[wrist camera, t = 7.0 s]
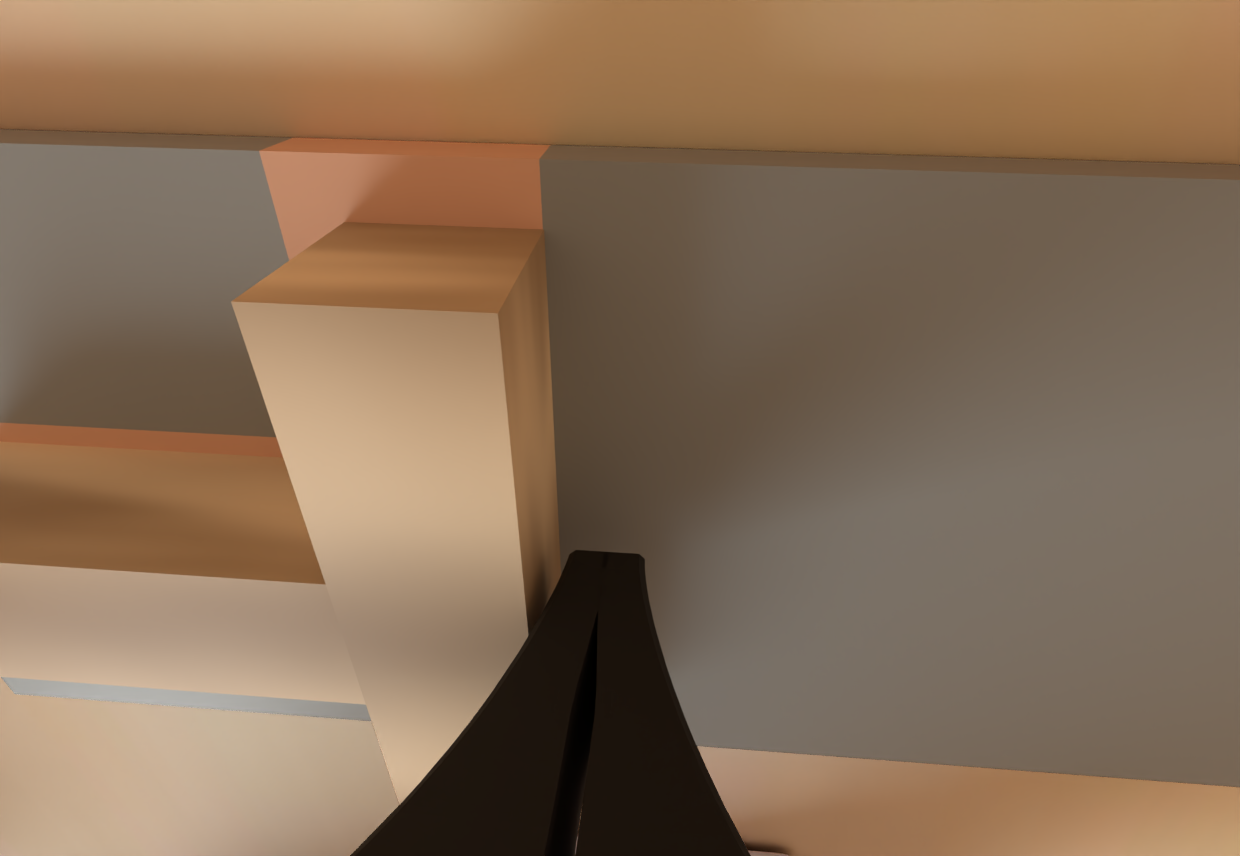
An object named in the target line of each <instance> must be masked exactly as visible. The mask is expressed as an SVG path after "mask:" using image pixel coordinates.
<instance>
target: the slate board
mask: <svg viewBox="0 0 1240 856" xmlns="http://www.w3.org/2000/svg"><path fill="white" fill-rule="evenodd" d="M344 222H357V223H384V224H410V225H437V226H464V227H490V228H517V229H543V230H544V237H545V257H546V278H547V298H548V318H549V339H550V359H551V380H552V400H553V421H554V441H555V462H556V482H557V502H558V523H559V543H560V564H561V574H562V572H563V570H564V567H565V565H566V562H567V559H568V557H569V554H570V553H572V552H573V551H575V550H587V551H603V552H619V553H635V554H640V555H641V556H642V557H643V558H644V559H645V575H646V584H647V591H648V597H649V602H650V607H651V611H652V616H653V620H654V624H655V628H656V632H657V636H658V639H659V642H660V646H661V649H662V652H663V656H664V659H665V663H666V666H667V669H668V672H669V675H670V678H671V681H672V684H673V687H674V689H675V692H676V695H677V698H678V700H679V703H680V706H681V708H682V711H683V714H684V716H685V719H686V721H687V724H688V726H689V729H690V731H691V734H692V736H693V739H694V741H695V743H696V746H704V747H718V748H731V749H744V750H757V751H770V752H783V753H797V754H810V755H823V756H836V757H849V758H862V759H875V760H889V761H902V762H915V763H928V764H941V765H954V766H968V767H981V768H994V769H1007V770H1020V771H1033V772H1047V773H1060V774H1073V775H1086V776H1099V777H1112V778H1125V779H1139V780H1152V781H1165V782H1178V783H1191V784H1204V785H1218V786H1231V787H1240V165H1236V164H1201V163H1166V162H1131V161H1096V160H1061V159H1026V158H991V157H956V156H921V155H886V154H851V153H816V152H781V151H746V150H711V149H676V148H641V147H607V146H572V145H537V144H502V143H467V142H432V141H397V140H362V139H327V138H292V137H257V136H222V135H187V134H152V133H117V132H82V131H47V130H12V129H0V441H1V442H18V443H36V444H53V445H71V446H89V447H106V448H124V449H142V450H159V451H177V452H195V453H212V454H230V455H248V456H265V457H283V455H282V452H281V449H280V446H279V443H278V440H277V437H276V435H275V432H274V429H273V426H272V423H271V420H270V417H269V414H268V411H267V408H266V405H265V402H264V399H263V396H262V393H261V390H260V387H259V384H258V381H257V378H256V375H255V372H254V369H253V366H252V363H251V360H250V357H249V354H248V351H247V348H246V345H245V342H244V339H243V336H242V333H241V330H240V327H239V324H238V321H237V318H236V315H235V312H234V309H233V306H232V303H231V301H232V300H234V299H235V298H237V297H238V296H240V295H241V294H242V293H244V292H245V291H247V290H248V289H250V288H251V287H252V286H254V285H255V284H257V283H258V282H260V281H261V280H262V279H264V278H265V277H267V276H268V275H270V274H271V273H272V272H274V271H275V270H277V269H278V268H280V267H281V266H282V265H284V264H285V263H287V262H288V261H289V260H291V259H292V258H294V257H295V256H297V255H298V254H299V253H301V252H302V251H304V250H305V249H307V248H308V247H309V246H311V245H312V244H314V243H315V242H317V241H318V240H319V239H321V238H322V237H324V236H325V235H327V234H328V233H329V232H331V231H332V230H334V229H335V228H337V227H338V226H339V225H341V224H342V223H344ZM1 678H2V679H3V680H4V682H5V683H6V684H7V685H8V686H9V688H10V689H11V690H12V691H13V693H14V694H20V695H33V696H47V697H60V698H73V699H86V700H99V701H112V702H126V703H139V704H152V705H165V706H178V707H191V708H205V709H218V710H231V711H244V712H257V713H270V714H283V715H297V716H310V717H323V718H336V719H349V720H362V721H371V718H370V715H369V712H368V709H367V706H366V705H364V704H351V703H338V702H325V701H311V700H298V699H285V698H272V697H259V696H246V695H232V694H219V693H206V692H193V691H180V690H167V689H153V688H140V687H127V686H114V685H101V684H88V683H75V682H61V681H48V680H35V679H22V678H9V677H1Z"/></svg>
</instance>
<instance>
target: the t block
mask: <svg viewBox="0 0 1240 856" xmlns="http://www.w3.org/2000/svg"><path fill="white" fill-rule="evenodd" d="M231 303H232V306H233V309H234V312H235V315H236V318H237V321H238V324H239V327H240V330H241V333H242V336H243V339H244V342H245V345H246V348H247V351H248V354H249V357H250V360H251V363H252V366H253V369H254V372H255V375H256V378H257V381H258V384H259V387H260V390H261V393H262V396H263V399H264V402H265V405H266V408H267V411H268V414H269V417H270V420H271V423H272V426H273V429H274V432H275V435H276V437H277V440H278V443H279V446H280V449H281V452H282V455H283V457H265V456H248V455H230V454H212V453H195V452H177V451H159V450H142V449H124V448H106V447H89V446H71V445H53V444H36V443H18V442H1V441H0V677H9V678H22V679H35V680H48V681H61V682H75V683H88V684H101V685H114V686H127V687H140V688H153V689H167V690H180V691H193V692H206V693H219V694H232V695H246V696H259V697H272V698H285V699H298V700H311V701H325V702H338V703H351V704H364V705H366V706H367V709H368V712H369V715H370V718H371V721H372V724H373V727H374V730H375V733H376V736H377V739H378V742H379V745H380V748H381V751H382V754H383V757H384V760H385V763H386V766H387V769H388V772H389V775H390V778H391V781H392V784H393V787H394V790H395V793H396V796H397V799H398V802H399V805H400V804H401V803H402V802H403V801H404V800H405V798H406V797H407V796H408V795H409V794H410V793H411V792H412V791H413V790H414V788H415V787H416V786H417V785H418V784H419V783H420V782H421V781H422V779H423V778H424V777H425V776H426V775H427V773H428V772H429V771H430V770H431V769H432V768H433V766H434V765H435V764H436V763H437V762H438V761H439V759H440V758H441V757H442V756H443V755H444V753H445V752H446V751H447V750H448V749H449V748H450V746H451V745H452V744H453V743H454V741H455V740H456V739H457V738H458V736H459V735H460V734H461V732H462V731H463V730H464V729H465V727H466V726H467V725H468V724H469V722H470V721H471V720H472V718H473V717H474V716H475V714H476V713H477V712H478V710H479V709H480V708H481V706H482V705H483V703H484V702H485V701H486V699H487V698H488V697H489V695H490V694H491V692H492V691H493V690H494V688H495V687H496V685H497V684H498V682H499V681H500V679H501V678H502V676H503V675H504V673H505V672H506V670H507V669H508V667H509V666H510V664H511V663H512V661H513V660H514V658H515V657H516V655H517V654H518V652H519V651H520V649H521V647H522V646H523V644H524V642H525V641H526V639H527V637H528V636H529V634H530V632H531V631H532V629H533V627H534V625H535V624H536V622H537V620H538V619H539V617H540V615H541V614H542V612H543V610H544V608H545V606H546V604H547V602H548V600H549V599H550V597H551V595H552V593H553V591H554V589H555V587H556V585H557V583H558V581H559V579H560V576H561V564H560V543H559V523H558V502H557V482H556V462H555V441H554V421H553V400H552V380H551V359H550V339H549V318H548V298H547V278H546V257H545V237H544V230H543V229H517V228H490V227H464V226H437V225H410V224H384V223H357V222H344V223H342V224H341V225H339V226H338V227H337V228H335V229H334V230H332V231H331V232H329V233H328V234H327V235H325V236H324V237H322V238H321V239H319V240H318V241H317V242H315V243H314V244H312V245H311V246H309V247H308V248H307V249H305V250H304V251H302V252H301V253H299V254H298V255H297V256H295V257H294V258H292V259H291V260H289V261H288V262H287V263H285V264H284V265H282V266H281V267H280V268H278V269H277V270H275V271H274V272H272V273H271V274H270V275H268V276H267V277H265V278H264V279H262V280H261V281H260V282H258V283H257V284H255V285H254V286H252V287H251V288H250V289H248V290H247V291H245V292H244V293H242V294H241V295H240V296H238V297H237V298H235V299H234V300H232V301H231Z"/></svg>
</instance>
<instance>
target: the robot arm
mask: <svg viewBox="0 0 1240 856" xmlns="http://www.w3.org/2000/svg"><path fill="white" fill-rule="evenodd" d="M581 809H582V811H581ZM580 815H581V818H580ZM579 822H580V826H579ZM578 828H579V833H578ZM577 835H578V836H577ZM350 856H789V855H786V854H782V853H773V852H761V851H749V850H747V848H746V846H745V844H744V842H743V840H742V838H741V836H740V835H739V833H738V831H737V829H736V827H735V825H734V823H733V821H732V819H731V818H730V816H729V814H728V812H727V810H726V808H725V806H724V804H723V802H722V800H721V798H720V796H719V794H718V792H717V789H716V787H715V785H714V783H713V781H712V779H711V777H710V775H709V773H708V770H707V768H706V766H705V764H704V761H703V759H702V757H701V755H700V752H699V750H698V748H697V746H696V743H695V741H694V739H693V736H692V734H691V731H690V729H689V726H688V724H687V721H686V719H685V716H684V714H683V711H682V708H681V706H680V703H679V700H678V698H677V695H676V692H675V689H674V687H673V684H672V681H671V678H670V675H669V672H668V669H667V666H666V663H665V659H664V656H663V652H662V649H661V646H660V642H659V639H658V636H657V632H656V628H655V624H654V620H653V616H652V611H651V607H650V602H649V597H648V591H647V584H646V575H645V559H644V558H643V557H642V556H641V555H640V554H635V553H619V552H603V551H587V550H575V551H573V552H572V553H570V554H569V557H568V559H567V562H566V565H565V567H564V570H563V572H562V574H561V576H560V579H559V581H558V583H557V585H556V587H555V589H554V591H553V593H552V595H551V597H550V599H549V600H548V602H547V604H546V606H545V608H544V610H543V612H542V614H541V615H540V617H539V619H538V620H537V622H536V624H535V625H534V627H533V629H532V631H531V632H530V634H529V636H528V637H527V639H526V641H525V642H524V644H523V646H522V647H521V649H520V651H519V652H518V654H517V655H516V657H515V658H514V660H513V661H512V663H511V664H510V666H509V667H508V669H507V670H506V672H505V673H504V675H503V676H502V678H501V679H500V681H499V682H498V684H497V685H496V687H495V688H494V690H493V691H492V692H491V694H490V695H489V697H488V698H487V699H486V701H485V702H484V703H483V705H482V706H481V708H480V709H479V710H478V712H477V713H476V714H475V716H474V717H473V718H472V720H471V721H470V722H469V724H468V725H467V726H466V727H465V729H464V730H463V731H462V732H461V734H460V735H459V736H458V738H457V739H456V740H455V741H454V743H453V744H452V745H451V746H450V748H449V749H448V750H447V751H446V752H445V753H444V755H443V756H442V757H441V758H440V759H439V761H438V762H437V763H436V764H435V765H434V766H433V768H432V769H431V770H430V771H429V772H428V773H427V775H426V776H425V777H424V778H423V779H422V781H421V782H420V783H419V784H418V785H417V786H416V787H415V788H414V790H413V791H412V792H411V793H410V794H409V795H408V796H407V797H406V798H405V800H404V801H403V802H402V803H401V804H400V805H399V806H398V807H397V808H396V809H395V810H394V811H393V812H392V813H391V814H390V815H389V816H388V817H387V818H386V820H385V821H384V822H383V823H382V824H381V825H380V826H379V827H378V828H377V829H376V830H375V831H374V832H373V833H372V834H371V835H370V836H369V837H368V838H367V839H366V840H365V841H364V842H363V843H362V844H361V845H360V846H359V847H358V848H357V849H356V850H355V851H354V852H353V853H352V854H351V855H350Z"/></svg>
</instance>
